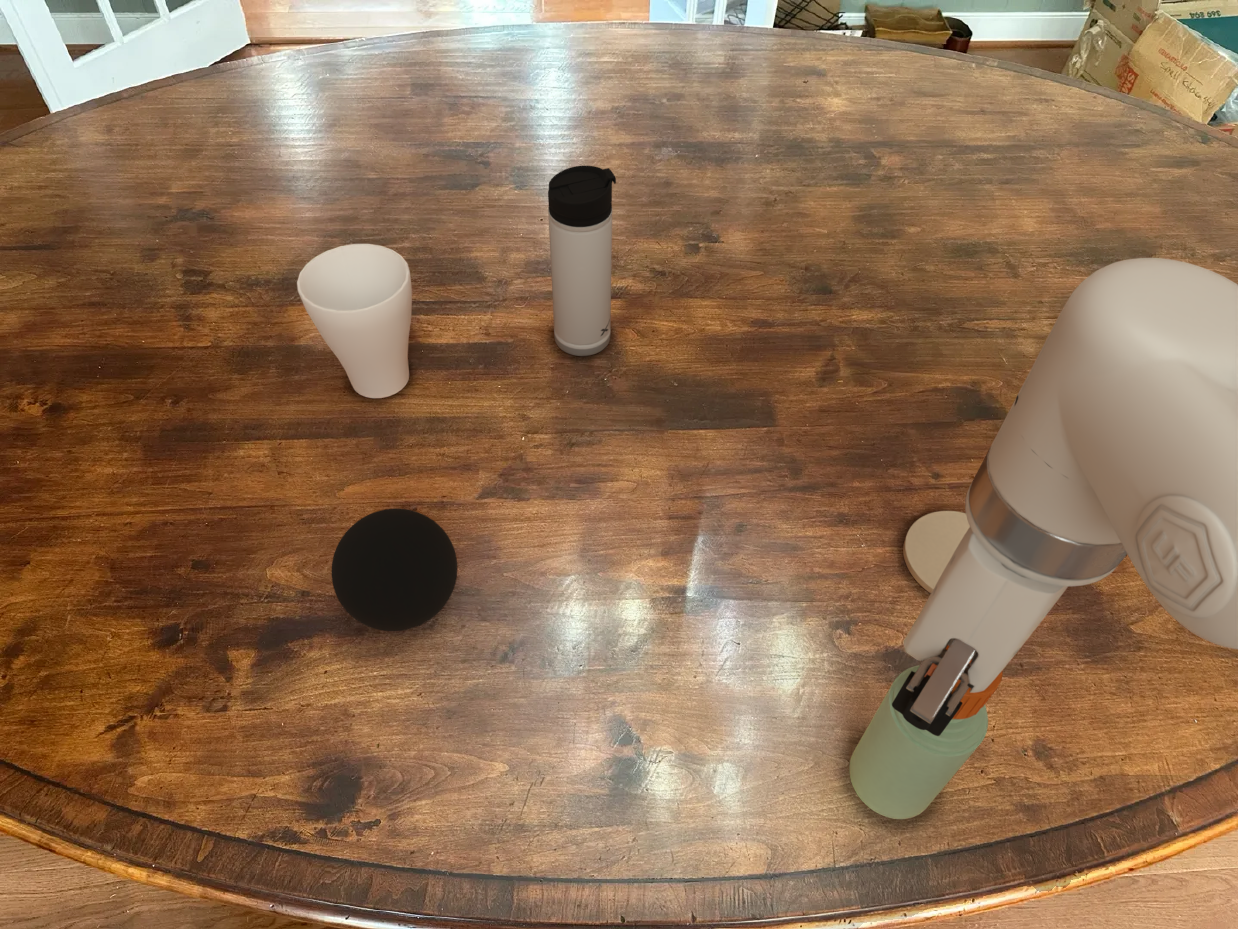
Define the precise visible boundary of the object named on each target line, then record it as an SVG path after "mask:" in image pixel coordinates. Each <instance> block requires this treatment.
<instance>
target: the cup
mask: <svg viewBox="0 0 1238 929" xmlns="http://www.w3.org/2000/svg"><path fill="white" fill-rule="evenodd" d="M296 289H297V293H298V295H299V298H300V300H301V302H302V304H303V307H304V309H305V311H306V313H307V315H308V317H309V318H310V320H311V321H312V324H314V326H315V328H316V329H317V331H318V333H319V335H320V336H321V338H322V340H323V341H324V343H325V344H326V345H327V347H329V349H330V350H331V352H332V354H334V355H335V357H336V358H337V360H338V362H339V363H340V364H341V366H342V368H343V369H344V371H345V373H346V375H347V378H348V380H349V382H350V384H351V387H352V388H353V390H354V391H355V392H356V393H358V395H360V396H363V397H365V398H370V399H382V398H383V399H384V398H388V397H391V396H393V395H395V394H397V393H399V392H400V391H402V390H403V389H404V388H405V387H406V385H407V384H408V382H409V378H410V368H409V367H410V366H409V359H408V358H409V355H408V354H409V340H410V338H409V337H410V332H411V331H410V330H411V323H412V312H413V311H412V307H413V287H412V278H411V271H410V267H409V263H408V262H407V260H406V259H405V258H404V257H403V256H402V255H401V254H400V253H398V252H397V251H395V250H394V249H392V248H389V247H387V246H383V245H379V244H372V243H351V244H346V245H340V246H337V247H333V248H331V249H327V250H326V251H325V250H324V251H323V252H322V253H319V254H318V255H316V256H314V257H313V258H312V259H310V261H308V262H307V263H305V265H304V267H303V268H302V269H301V271H300V272H299V273H298V277H297V280H296Z"/></svg>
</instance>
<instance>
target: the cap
mask: <svg viewBox="0 0 1238 929" xmlns="http://www.w3.org/2000/svg"><path fill="white" fill-rule="evenodd" d="M949 647H950V646H948V645H947V647H946V649H947V650H948V648H949ZM971 661H972V660H971ZM971 661H970V662H969V664H970V663H971ZM936 667H937V665H935V664H934V663H933V664H932V665H931V667H930V668H929V670H928V672H927V673H926V675H929V676H931V675H932V674H933V672H934V671H935V669H936ZM1003 674H1004V669H1003V670H1002V671H1001V672H1000V674H999V675H998V676H997V677H996V678H995V679H994V681H993V682H992V683H991V684H990V685H989V686H988V687H987V688H986V689H985V690H984V691H981V692H976V693H970V690H971V688H968V690H967V692H966V693H965V695H964V696H963V698H962V699H961V701H960V702H962V703H963V704H962V705H961V707H960V709H959V710H958V712H957V713H956V714H955V716H954V717H953V718H952V719H966V718H969V717H971V716H973V715H976V714H977V713H978V711H979V710H980V709H981V708H982V707H983V706H984V705H985V706H986V704H987V702H988V701H989V700H990V698H991V697H992V696H993V695H994V694H995V693H996V691H997V689H998V688H999V685H1000V684H1001V682H1002V680H1003V676H1004V675H1003ZM926 675H925V676H924V677H926ZM960 681H961V680H958V681H957V683H956V684H955V686H954V688H953V689H952V690H953V691H954V690H955V688H956V687H957V685H958V684H959V682H960ZM953 691H952V693H953ZM952 693H951V694H952Z"/></svg>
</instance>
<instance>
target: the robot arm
mask: <svg viewBox="0 0 1238 929" xmlns="http://www.w3.org/2000/svg"><path fill="white" fill-rule="evenodd" d="M964 509H965V513H966V516H967V520H968V523H969V525H970V527H969V529H968V530H967V532H966V533H965V535H964V537H963V538H962V540H961V542H960V543H959V545H958V547H957V548H956V550H955V552H954V554H953V555H952V557H951V559H950V561H949V562H948V564H947V566H946V568H945V569H944V571H943V573H942V575H941V576H940V578H939V580H938V582H937V584H936V585H935V587H934V589H933V591H932V593H929V596H928V598H927V599H926V601H925V603H924V604H923V607H922V608H921V610H920V611H919V613H918V615H917V617H916V619H915V620H914V622H913V624H912V625H911V627H910V629H909V631H908V632H907V633H906V635H905V637H904V639H903V648H904V651H905V653H906V654H907V655H909V656H910V657H912V658H913V659H915V660H916V661H918V662H920V666H919V665H918V666H919V668H918V669H917V671H916V672H913V671H911V673H910V674H909V676H908V677H907V679H906V681H905V682H904V684H903V686H902V688H901V689H900V691H899V693H898V694H897V696H896V698H895V699H894V701H893V703H892V707H893V708H894V709H895V710H897V711H898V712H900V713H901V714H903V717H904V719H905V720H906V721H907V722H909V723H910V724H912V725H913V726H915V727H916V728H918V729H921V730H927V731H928V732H930V733H932V734H933V735H935V736H940V735H941V733H942V732H943V731H944V729H945V728H946V727H947V725H948V724H949V722H950V721H951V720H952V718H953V717H954V716H955V714H956V713H957V712H958V710H959V709H960V707H961V705H962V704H963V703H962V702H960V701H961V699H962V698H963V696H964V695H965V693H966V692H967V690H968V688H971V690H970V693H976V692H981V691H984V690H985V689H986V688H987V687H988V686H989V685H990V684H991V683H992V682H993V681H994V679H995V678H996V677H997V676H998V675H999V674H1000V672H1001V671H1002V670H1003V671H1004V670H1005V668H1006V667H1007V666H1008V664H1009V663H1010V662H1011V660H1013V658H1014V657H1016V654H1017V653H1018V652H1019V651H1020V650H1021V648H1022V647H1023V646H1024V645H1025V643H1026V642H1027V641H1028V639H1029V638H1030V637H1031V636H1032V635H1033V633H1034V632H1035V630H1036V629H1037V628H1039V626H1040V624H1041V623H1042V621H1044V619H1045V618H1046V616H1047V615H1048V614H1049V612H1050V611H1051V610H1052V609H1053V607H1054V606H1055V604H1056V603H1057V602H1058V601H1059V600H1060V598H1061V597H1062V596H1063V594H1064V593H1065V591H1066V590H1067V589H1068V587H1081V586H1087V585H1090V584H1094V583H1097V582H1100V581H1102V580H1103V579H1105V578H1107V577H1108V576H1110V575H1111V574H1112V573H1113V572H1115V570H1116V569H1117V568H1118V567H1119V565H1120V564H1121V562H1123V561H1124V560H1125V558H1126V557H1127V556H1128V558H1129V560H1130V562H1131V563H1132V565H1133V567H1134V569H1135V570H1136V572H1137V574H1138V575H1139V577H1140V578H1141V580H1142V581H1143V583H1144V584H1145V586H1146V588H1147V590H1149V592H1150V593H1151V595H1152V596H1153V598H1155V600H1156V601H1157V602H1158V604H1160V605H1161V607H1162V608H1163V609H1164V611H1166V612H1167V614H1168V615H1169V616H1170V617H1172V618H1173V619H1174V620H1175V621H1176V622H1177V623H1179V625H1181V626H1182V627H1184V628H1185V629H1186V630H1188V631H1189V632H1190V633H1192V634H1193V635H1195V636H1197V637H1198V638H1200V639H1203V640H1205V641H1207V642H1209V643H1212V644H1214V645H1216V646H1220V647H1224V648H1229V649H1232V650H1238V283H1236V282H1234V281H1232V280H1231V279H1229V278H1227V277H1225V276H1224V275H1222V274H1219V273H1218V272H1216V271H1214V270H1211V269H1208V268H1206V267H1202V266H1200V265H1196V264H1193V263H1190V262H1186V261H1182V260H1177V259H1171V258H1164V257H1162V258H1161V257H1138V258H1129V259H1123V260H1119V261H1115V262H1112V263H1110V264H1108V265H1106V266H1103V267H1101V268H1099V269H1097V270H1095V271H1094V272H1092V273H1091V274H1090V275H1088V276H1087V277H1086V278H1085V279H1084V280H1082V281H1081V282H1080V283H1079V284H1078V285H1077V286H1076V287H1075V288H1074V290H1073V291H1072V292H1071V294H1070V295H1069V298H1068V299H1067V300H1066V302H1065V304H1064V306H1063V307H1062V309H1061V310H1060V312H1059V315H1058V317H1057V318H1056V320H1055V322H1054V324H1053V326H1052V328H1051V330H1050V331H1049V334H1048V335H1047V337H1046V340H1045V341H1044V343H1043V345H1042V347H1041V349H1040V351H1039V352H1038V355H1037V356H1036V358H1035V360H1034V362H1033V364H1032V366H1031V368H1030V369H1029V372H1028V374H1027V375H1026V378H1025V380H1024V381H1023V383H1022V386H1021V387H1020V389H1019V391H1018V393H1017V395H1016V397H1015V398H1014V401H1013V403H1012V404H1011V407H1010V408H1009V409H1008V412H1007V414H1006V416H1005V418H1004V420H1003V422H1002V423H1001V426H1000V428H999V430H998V431H997V433H996V435H995V438H994V439H993V441H992V443H991V445H990V447H989V449H988V450H987V453H986V455H985V456H984V458H983V460H982V462H981V464H980V466H979V468H978V470H977V472H976V474H975V475H974V477H973V479H972V482H971V483H970V485H969V487H968V490H967V492H966V495H965V500H964ZM947 645H948V646H950V647H949V648H948V650H947V649H946V647H947ZM971 660H972V661H971ZM970 661H971V663H970V664H969V662H970ZM933 663H934V664H935V665H937V667H936V669H935V671H934V672H933V674H932V675H931V676H929V675H926V673H927V672H928V670H929V668H930V667H931V665H932V664H933ZM925 675H926V677H924V676H925ZM958 680H961V681H960V682H959V684H958V685H957V687H956V688H955V690H954V691H953V690H952V689H953V688H954V686H955V684H956V683H957V681H958ZM952 691H953V693H952ZM951 693H952V694H951Z"/></svg>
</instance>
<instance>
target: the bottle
mask: <svg viewBox="0 0 1238 929" xmlns="http://www.w3.org/2000/svg"><path fill="white" fill-rule="evenodd" d="M920 665H921V664H920ZM920 665H919V664H918V665H914V666H912V667H908V668H907V669H904V670H903V671H902V672H900V673H899V674H898V675H897V676H896V677H895V679H894V681H892V683H891V685H890V686H889V689H888V690H887V692H886V694H885V696H884V697H883V699H882V701H881V703H880V705H879V706H878V707H877V710H876V711H875V713H874V715H873V717H872V718H871V721H870V722H869V724H868V726H867V727H866V729H865V731H864V732H863V734H862V736H861V738H860V740H859V741H858V743H857V745H856V747H855V748H854V750H853V752H852V753H851V756H850V759H849V765H848V766H849V767H848V773H849V778H850V783H851V785H852V789H853V790H854V792H855V794H856V795H857V796H858V798H859V799H860V800H861V802H862V803H864V804H865V806H867V807H868V808H869V809H870V810H872V811H873V812H874V813H876V814H877V815H881V816H883V817H885V818H889V819H893V820H908V819H912V818H914V817H918V816H919V815H920V814H922V813H923V812H925V811H926V810H927V808H928V807H929V806H930V805H931V804H932V803H933V801H934V800H935V799H936V797H938V795H939V794H940V793H941V791H942V790H943V789H944V788H945V787H946V786H947V784H948V783H949V782H950V781H951V780H952V778H953V777H954V776H955V775H956V774H957V773H958V772H959V770H961V768H962V767H963V765H965V763H966V762H967V761H968V759H969V758H970V757H971V756H972V755H973V754H974V752H975V751H976V750H977V749H978V747H979V746H980V745H981V744H982V742H983V741H984V740H985V738H986V735H987V732H988V728H989V716H988V711H987V706H986V704H985V705H984V706H983V707H982V708H981V709H980V710H979V711H978V713H977V714H976V715H973V716H971V717H969V718H966V719H952V720H951V721H950V722H949V724H948V725H947V727H946V728H945V729H944V731H943V732H942V733H941V735H940V736H935V735H933V734H932V733H930V732H928V731H927V730H921V729H918V728H916V727H915V726H913V725H912V724H910V723H909V722H907V721H906V720H905V719H904V717H903V714H901V713H900V712H898V711H897V710H895V709H894V708H893V707H892V703H893V701H894V699H895V698H896V696H897V694H898V693H899V691H900V689H901V688H902V686H903V684H904V682H905V681H906V679H907V677H908V676H909V674H910V673H911V671H913V672H916V671H917V669H918V668H919V666H920Z"/></svg>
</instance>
